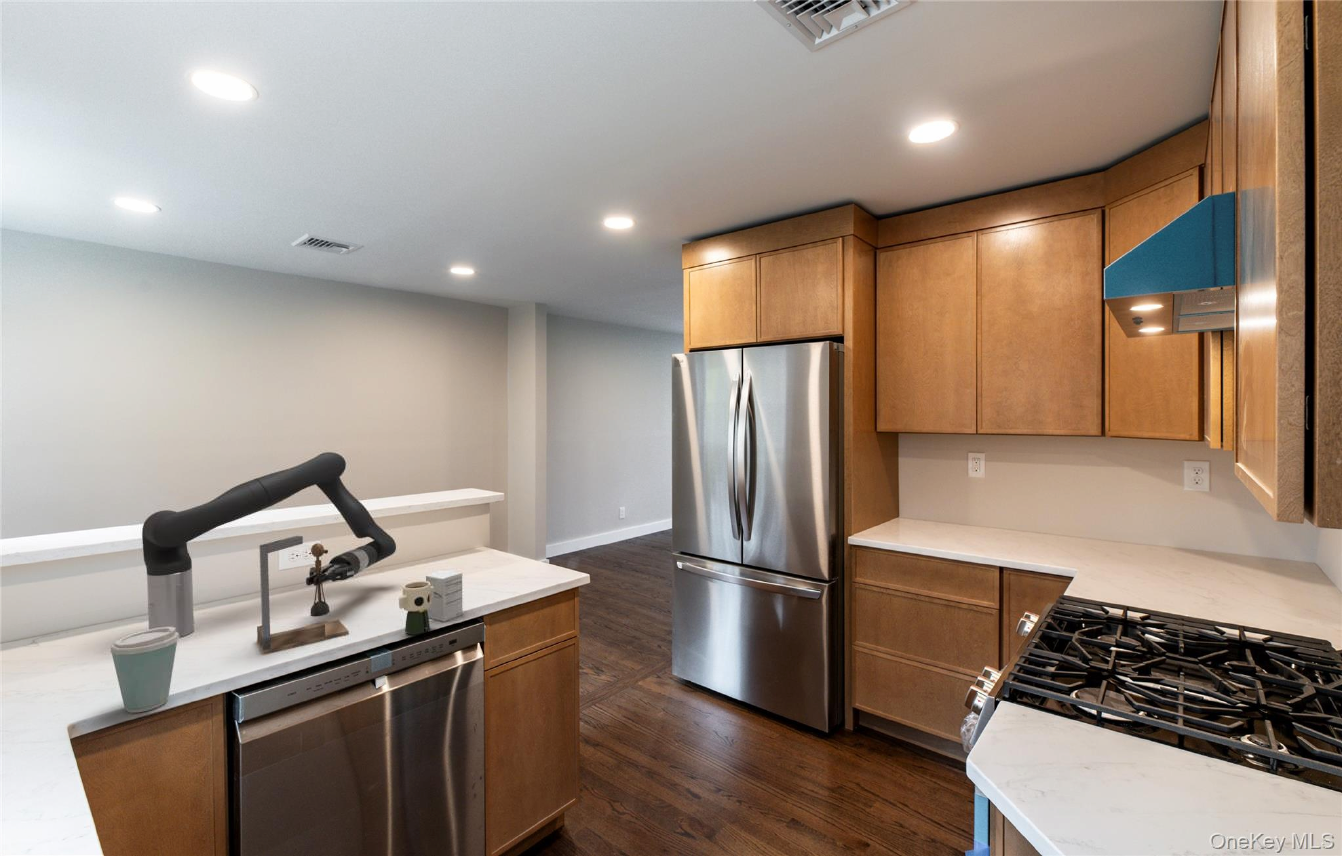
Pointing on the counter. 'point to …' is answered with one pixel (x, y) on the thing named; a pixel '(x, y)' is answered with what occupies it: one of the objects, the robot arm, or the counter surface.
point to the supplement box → (445, 595)
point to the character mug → (416, 605)
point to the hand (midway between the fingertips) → (311, 582)
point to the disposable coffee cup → (145, 667)
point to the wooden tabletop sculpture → (320, 606)
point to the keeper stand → (264, 637)
